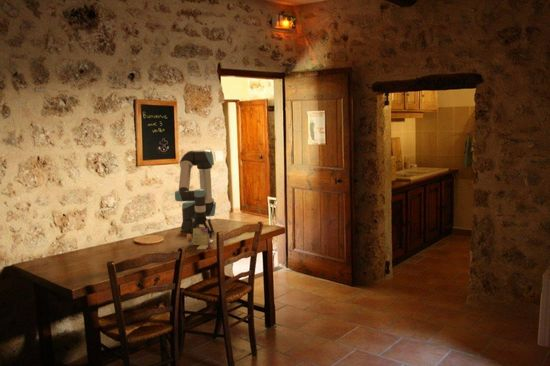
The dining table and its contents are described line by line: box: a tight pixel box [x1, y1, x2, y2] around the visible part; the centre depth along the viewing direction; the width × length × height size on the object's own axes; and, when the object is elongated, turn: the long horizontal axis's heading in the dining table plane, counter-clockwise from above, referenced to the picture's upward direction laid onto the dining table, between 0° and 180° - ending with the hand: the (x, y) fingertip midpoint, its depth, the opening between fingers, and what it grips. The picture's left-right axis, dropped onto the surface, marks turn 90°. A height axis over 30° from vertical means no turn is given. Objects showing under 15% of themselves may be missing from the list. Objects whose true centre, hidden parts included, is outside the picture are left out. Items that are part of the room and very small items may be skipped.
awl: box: [186, 232, 193, 248], centre depth 351 cm, size 3×3×9 cm
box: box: [192, 226, 211, 246], centre depth 356 cm, size 10×6×12 cm, turn 84°
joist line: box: [196, 239, 214, 250], centre depth 355 cm, size 24×6×1 cm, turn 174°
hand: (201, 242), depth 357 cm, fingers closed on box, 10 cm apart
